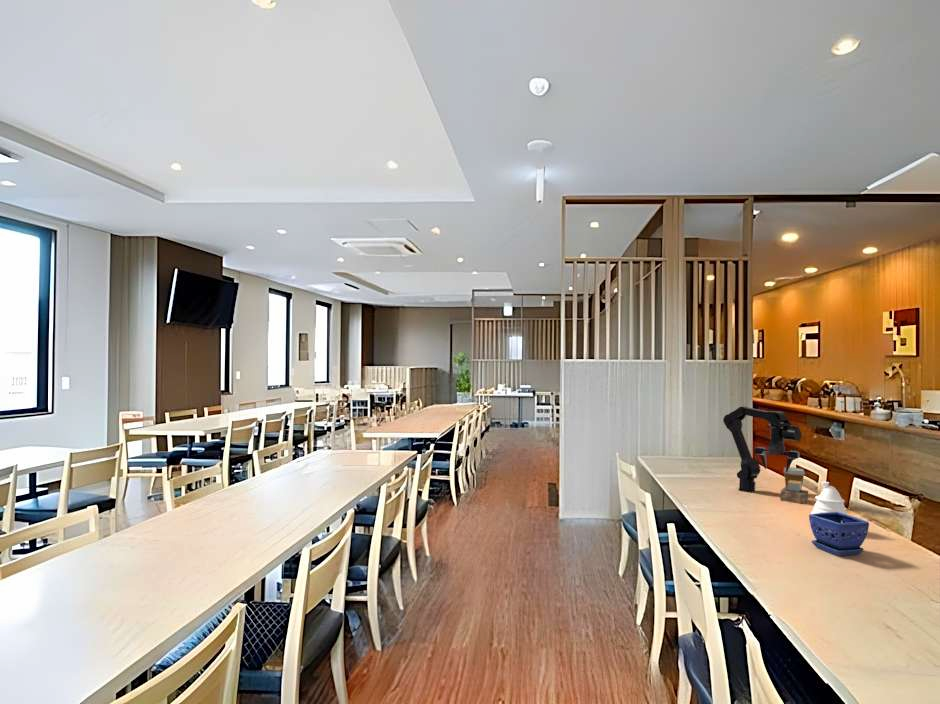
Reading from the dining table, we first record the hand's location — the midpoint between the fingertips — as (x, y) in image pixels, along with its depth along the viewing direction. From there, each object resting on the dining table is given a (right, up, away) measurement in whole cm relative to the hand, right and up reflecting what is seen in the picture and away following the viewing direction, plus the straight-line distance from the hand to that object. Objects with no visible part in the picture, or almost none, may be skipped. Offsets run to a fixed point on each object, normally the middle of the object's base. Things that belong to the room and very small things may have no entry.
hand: (776, 470), depth 285 cm
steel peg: (+6, -13, -4) cm, 15 cm away
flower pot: (-18, -13, -76) cm, 79 cm away
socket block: (+7, -13, -4) cm, 15 cm away
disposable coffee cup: (+14, -14, +10) cm, 22 cm away
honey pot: (-4, -14, -48) cm, 50 cm away
